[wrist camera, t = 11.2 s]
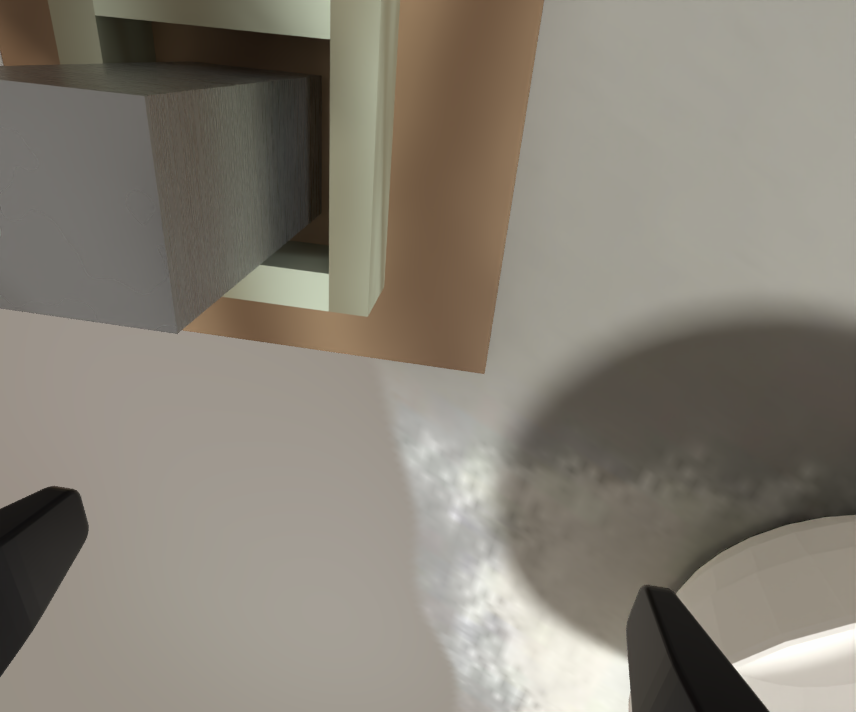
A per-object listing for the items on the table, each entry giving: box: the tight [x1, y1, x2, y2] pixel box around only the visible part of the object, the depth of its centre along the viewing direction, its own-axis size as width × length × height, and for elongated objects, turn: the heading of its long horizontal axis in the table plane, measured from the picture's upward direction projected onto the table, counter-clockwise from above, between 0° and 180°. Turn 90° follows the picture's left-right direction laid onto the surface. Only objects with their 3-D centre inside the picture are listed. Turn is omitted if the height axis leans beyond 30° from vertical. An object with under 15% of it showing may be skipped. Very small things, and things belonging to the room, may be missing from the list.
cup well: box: [0, 0, 544, 374], centre depth 17 cm, size 16×14×4 cm
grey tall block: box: [0, 61, 322, 334], centre depth 14 cm, size 4×4×9 cm
